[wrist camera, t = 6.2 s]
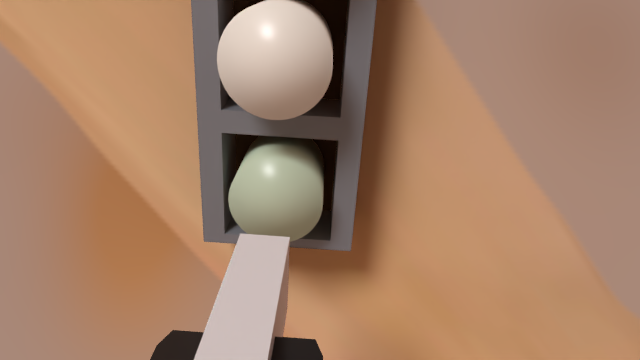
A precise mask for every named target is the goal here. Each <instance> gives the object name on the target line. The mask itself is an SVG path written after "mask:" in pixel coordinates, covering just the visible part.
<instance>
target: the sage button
mask: <svg viewBox="0 0 640 360" xmlns="http://www.w3.org/2000/svg"><path fill="white" fill-rule="evenodd" d="M323 190H324V159H323V155H322V153H321V150H320V149H319V147H318V146H317V144H316V143H315V142H314V141H313V140H312V139H307V138H292V137H277V136H262V135H260V136H258V137H257V138H256V139H255V140H254V141H253V142H252V144H251V145H250V147H249V149H248V150H247V153H246V155H245V157H244V159H243V161H242V163H241V165H240V167H239V169H238V171H237V173H236V175H235V178H234V180H233V182H232V184H231V187H230V190H229V196H228V202H229V208H230V211H231V214H232V216H233V218H234V220H235V221H236V223H237V224H238V225H239V226H240V228H241V229H242V230H244V231H245V232H246V233H247V234H255V235H268V236H282V237H290V242H291V241H295V240H297V239H299V238H302V237H303V236H305V235H306V234H308V233H309V232H310V231H311V230H312V229H313V228H314V227H315V226H316V224H317V222H318V221H319V219H320V216H321V213H322V208H323Z"/></svg>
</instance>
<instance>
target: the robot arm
mask: <svg viewBox="0 0 640 360" xmlns="http://www.w3.org/2000/svg"><path fill="white" fill-rule="evenodd" d="M289 247H290V237H282V236H268V235H255V234H241V233H240V236H239V238H238V241H237V244H236V246H235V249H234V252H233V255H232V257H231V260H230V263H229V265H228V268H227V271H226V274H225V276H224V279H223V282H222V285H221V287H220V290H219V293H218V295H217V298H216V301H215V304H214V307H213V309H212V312H211V315H210V317H209V320H208V323H207V325H206V328H205V331H204V332H203V333H202V332H190V331H177V330H173V331H172V332H170V334H169V335H167V336H166V337H165V338H164V339H163V340H162V341H161V342H160V343H159V344H158V345H157V346H156V348H155V351H154V353H153V355H152V357H151V359H150V360H323V355H322V353H321V351H320V349H319V347H318V344H317V342H316V340H315V339H302V338H288V337H283V332H284V326H285V319H286V313H287V301H288V274H289Z"/></svg>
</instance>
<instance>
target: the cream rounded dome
mask: <svg viewBox="0 0 640 360" xmlns="http://www.w3.org/2000/svg"><path fill="white" fill-rule="evenodd" d="M217 66H218V72H219V76H220V79H221V81H222V84H223V86H224V88H225V90H226V91H227V93H228V94H229V96H230V97H231V98H232V99H233V100H234V101H235V102H236V103H237V104H238V105H239V106H240V107H241V108H243V109H244V110H245V111H247V112H249V113H251V114H253V115H255V116H258V117H260V118H264V119H270V120H285V119H291V118H295V117H297V116H300V115H302V114H304V113H306V112H307V111H309V110H310V109H311V108H313V107H314V106H315V105H316V104H317V103H318V102H319V101H320V100H321V98H322V97H323V96H324V94H325V92H326V91H327V88H328V86H329V84H330V80H331V77H332V71H333V40H332V35H331V31H330V28H329V26H328V24H327V22H326V20H325V18H324V17H323V16H322V14H321V13H320V12H319V11H318V10H317V9H316V8H315V7H314V6H312V5H311V4H309V3H308V2H306V1H304V0H265V1H262V2H260V3H257V4H255V5H252V6H250V7H248V8H246V9H244V10H243V11H241V12H240V13H238V14H237V15H236V16H235V17H234V18H233V19H232V20H231V21H230V22H229V23H228V25H227V26H226V28H225V30H224V31H223V34H222V36H221V38H220V41H219V45H218V51H217Z"/></svg>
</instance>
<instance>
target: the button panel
mask: <svg viewBox="0 0 640 360" xmlns="http://www.w3.org/2000/svg"><path fill="white" fill-rule="evenodd" d="M376 4H377V0H347V13H346V26H345V38H344V51H343V63H342V76H341V89H340V100H337V99H322V98H321V100H320V101H319V102H318V103H317V104H316V105H315V106H314V107H313V108H311V109H310V110H309V111H307V112H306V113H304V114H302V115H300V116H297V117H295V118H291V119H285V120H270V119H264V118H260V117H258V116H255V115H253V114H251V113H249V112H247V111H245V110H244V109H243V108H241V107H240V106H239V105H238V104H237V103H236V102H235V101H234V100H233V99H232V98H231V97H230V96H229V94H228V93H227V91H226V90H225V88H224V86H223V84H222V81H221V79H220V76H219V72H218V66H217V51H218V45H219V41H220V38H221V36H222V34H223V31H224V30H225V28H226V26H227V25H228V23H229V22H230V21H231V20H232V19H233V18H234V13H233V0H191V7H192V26H193V45H194V64H195V83H196V102H197V121H198V140H199V159H200V178H201V197H202V216H203V235H204V242H219V243H234V244H237V241H238V238H239V236H240V233H241V234H247V233H246V232H245V231H244V230H242V229H241V228H240V226H239V225H238V224H237V223H236V221H235V220H234V218H233V216H232V214H231V211H230V208H229V202H228V196H229V190H230V187H231V184H232V182H233V180H234V178H235V175H236V134H247V135H262V136H277V137H292V138H307V139H323V140H336V152H335V164H334V177H333V190H332V202H331V211H329V210H322V213H321V216H320V219H319V221H318V222H317V224H316V226H315V227H314V228H313V229H312V230H311V231H310V232H309V233H308V234H306V235H305V236H303V237H302V238H299V239H297V240H295V241H291V242H290V247H295V248H311V249H326V250H341V251H351V244H352V235H353V225H354V216H355V206H356V196H357V187H358V177H359V168H360V158H361V148H362V139H363V129H364V120H365V110H366V100H367V91H368V81H369V72H370V62H371V52H372V43H373V33H374V24H375V14H376Z"/></svg>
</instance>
